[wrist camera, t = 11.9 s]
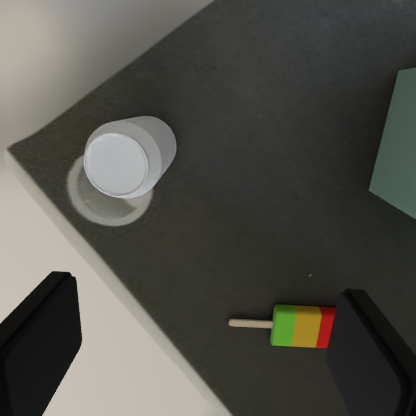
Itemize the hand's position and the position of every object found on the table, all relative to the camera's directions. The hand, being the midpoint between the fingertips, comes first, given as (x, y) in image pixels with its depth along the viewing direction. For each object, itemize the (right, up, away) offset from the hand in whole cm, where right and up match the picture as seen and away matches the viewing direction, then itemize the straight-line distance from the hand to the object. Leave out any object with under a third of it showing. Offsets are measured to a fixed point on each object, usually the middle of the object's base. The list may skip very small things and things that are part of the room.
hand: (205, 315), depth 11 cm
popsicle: (+10, -11, +31) cm, 34 cm away
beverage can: (-6, +11, +24) cm, 27 cm away
